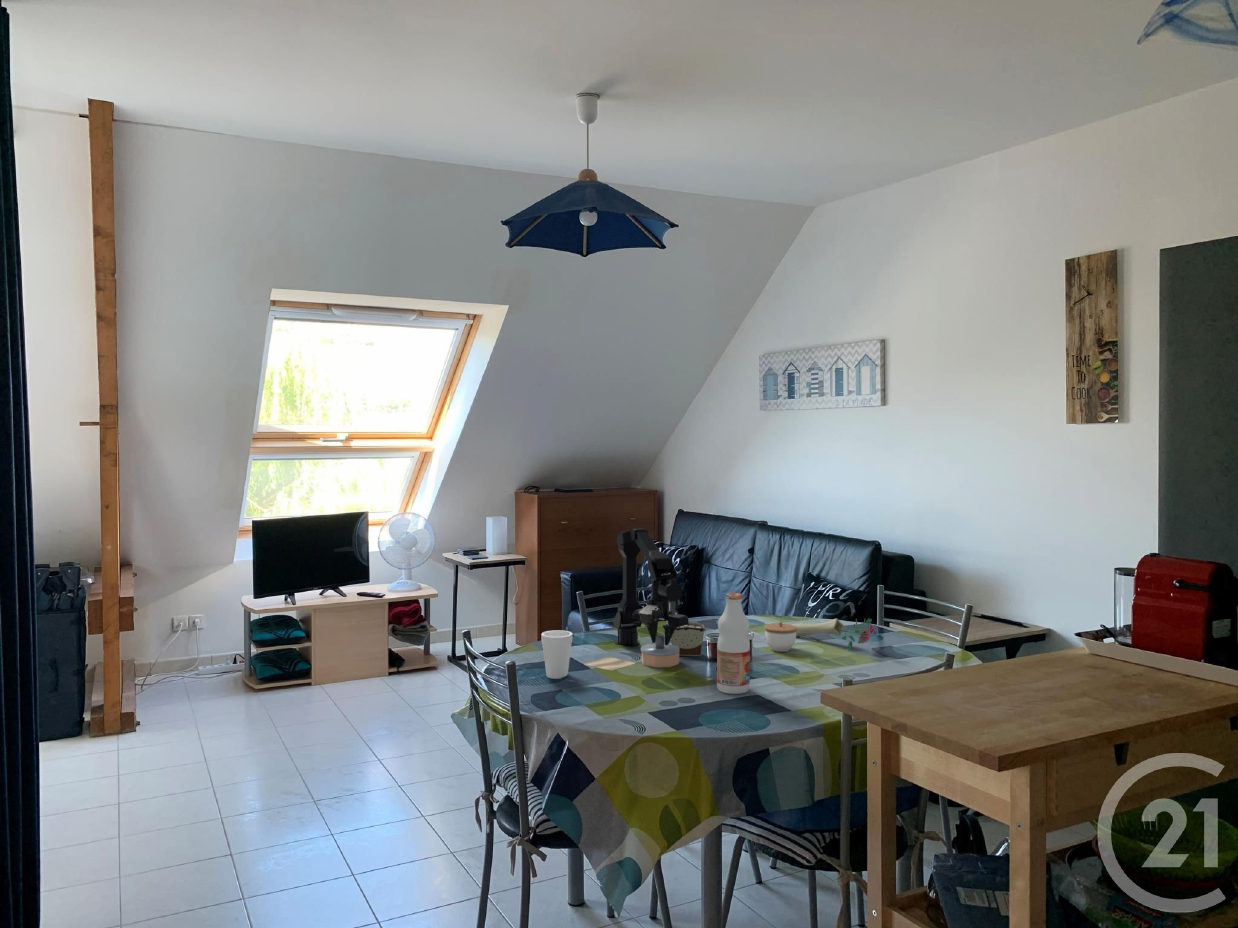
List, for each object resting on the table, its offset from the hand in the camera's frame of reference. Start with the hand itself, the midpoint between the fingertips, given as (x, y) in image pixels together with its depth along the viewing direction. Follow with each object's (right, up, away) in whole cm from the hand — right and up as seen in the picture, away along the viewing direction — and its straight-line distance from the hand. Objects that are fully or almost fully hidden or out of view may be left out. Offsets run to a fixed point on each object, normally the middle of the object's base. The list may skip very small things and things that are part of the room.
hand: (660, 643), depth 297 cm
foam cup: (-32, -7, -14) cm, 36 cm away
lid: (0, -2, 0) cm, 2 cm away
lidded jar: (+42, -6, +18) cm, 46 cm away
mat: (-16, -6, -2) cm, 17 cm away
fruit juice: (+20, -8, -29) cm, 36 cm away
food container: (+10, -6, +13) cm, 17 cm away
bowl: (0, -6, 0) cm, 6 cm away
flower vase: (+61, -5, +24) cm, 66 cm away
